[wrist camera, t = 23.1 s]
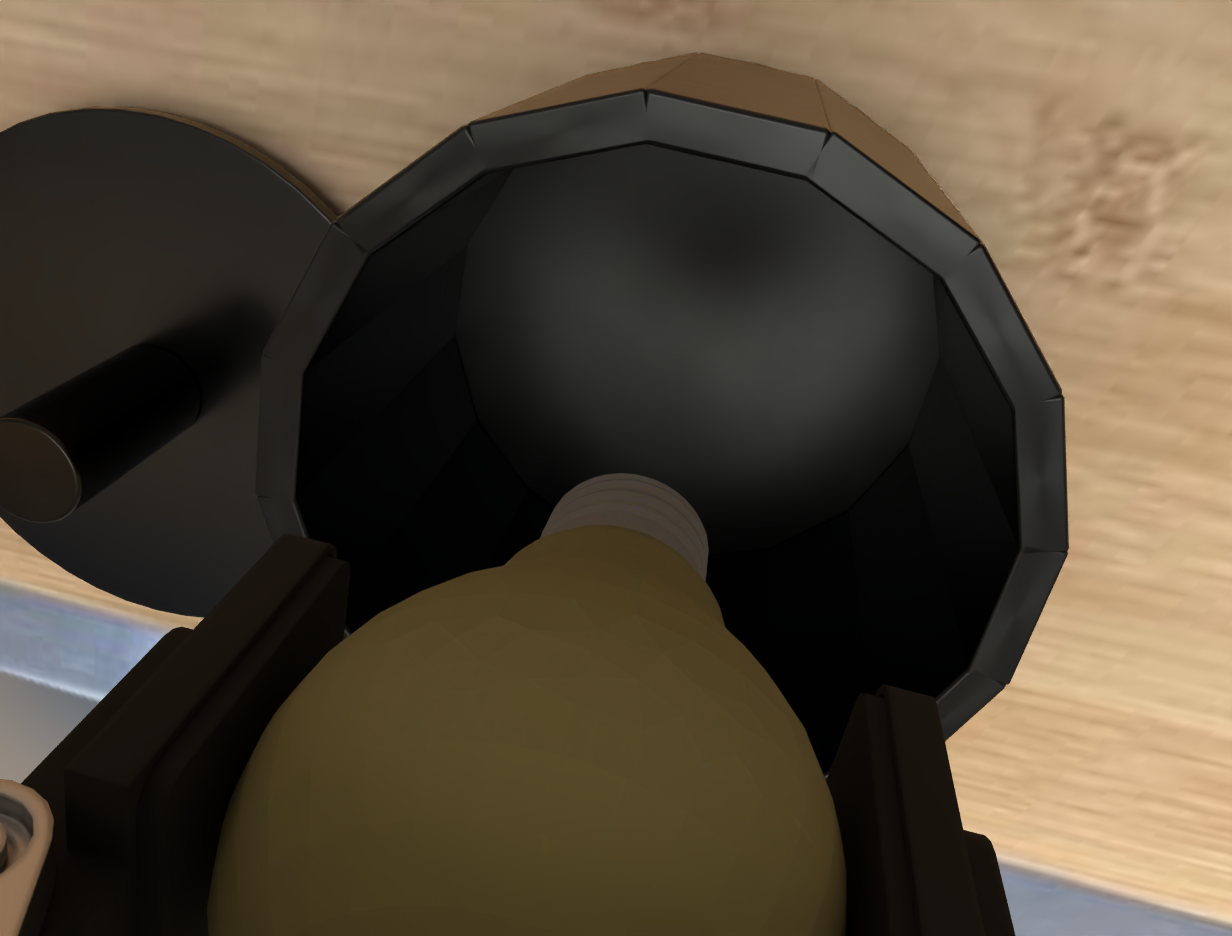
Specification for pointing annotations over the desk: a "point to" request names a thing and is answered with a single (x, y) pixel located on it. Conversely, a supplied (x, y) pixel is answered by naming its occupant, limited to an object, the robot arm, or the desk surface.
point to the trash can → (686, 377)
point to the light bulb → (540, 758)
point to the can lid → (141, 345)
